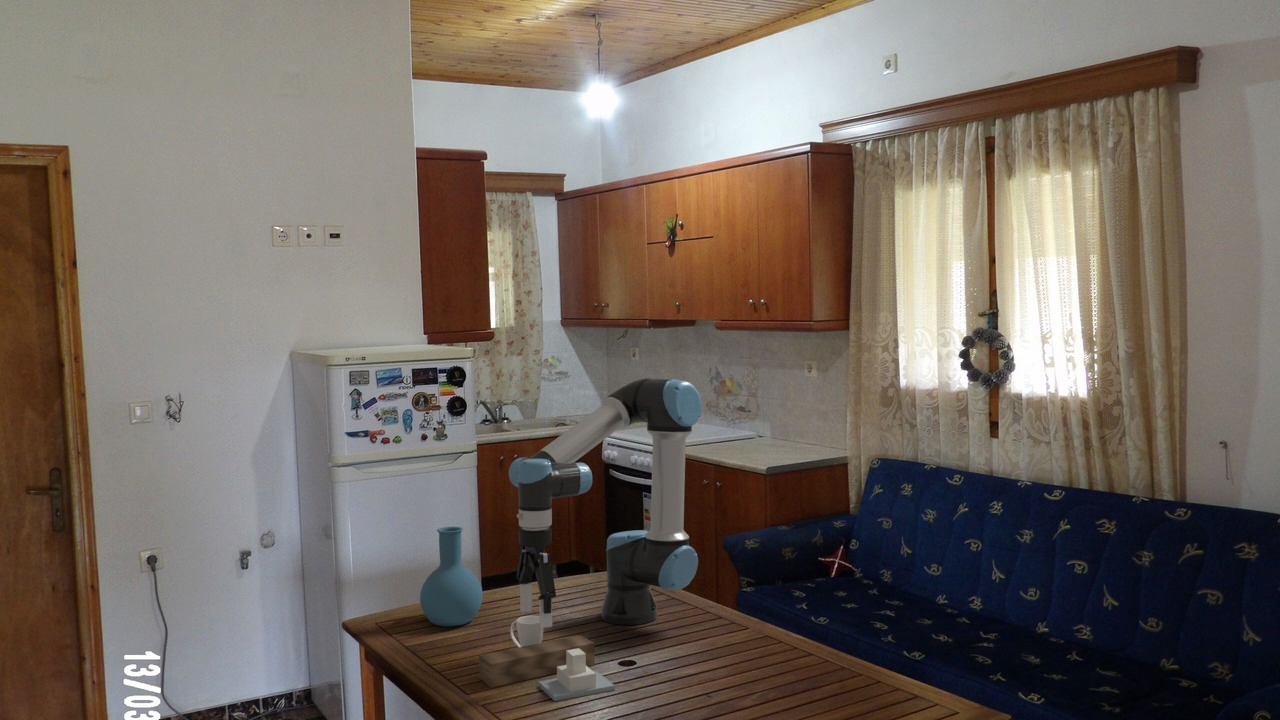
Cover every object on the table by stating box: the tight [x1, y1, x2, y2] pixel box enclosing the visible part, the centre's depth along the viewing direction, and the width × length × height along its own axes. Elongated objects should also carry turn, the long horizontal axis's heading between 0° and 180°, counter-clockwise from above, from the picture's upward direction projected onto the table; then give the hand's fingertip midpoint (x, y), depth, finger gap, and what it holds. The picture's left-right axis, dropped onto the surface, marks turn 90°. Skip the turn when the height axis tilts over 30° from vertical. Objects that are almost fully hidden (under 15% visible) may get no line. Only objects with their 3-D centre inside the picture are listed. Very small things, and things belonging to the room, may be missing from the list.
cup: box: [509, 614, 544, 648], centre depth 247 cm, size 7×10×8 cm
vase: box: [419, 526, 483, 628], centre depth 272 cm, size 16×16×25 cm
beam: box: [478, 634, 596, 688], centre depth 233 cm, size 26×7×6 cm, turn 121°
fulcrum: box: [538, 648, 616, 702], centre depth 222 cm, size 14×10×8 cm
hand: (535, 619), depth 233 cm, fingers open, 13 cm apart
